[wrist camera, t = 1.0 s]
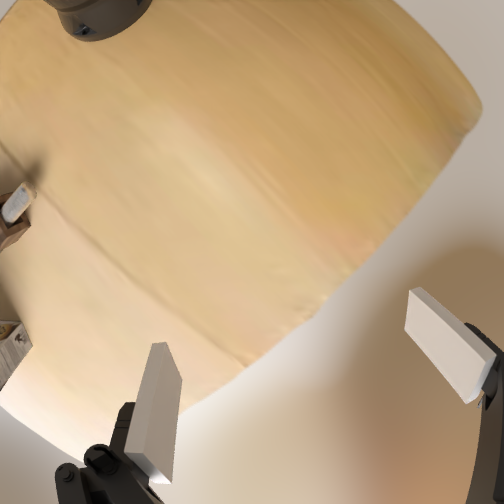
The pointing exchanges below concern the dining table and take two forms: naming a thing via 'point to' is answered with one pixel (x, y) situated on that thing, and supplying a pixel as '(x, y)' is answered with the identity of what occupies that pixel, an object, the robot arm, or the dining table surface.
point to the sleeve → (5, 237)
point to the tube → (17, 203)
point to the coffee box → (12, 348)
